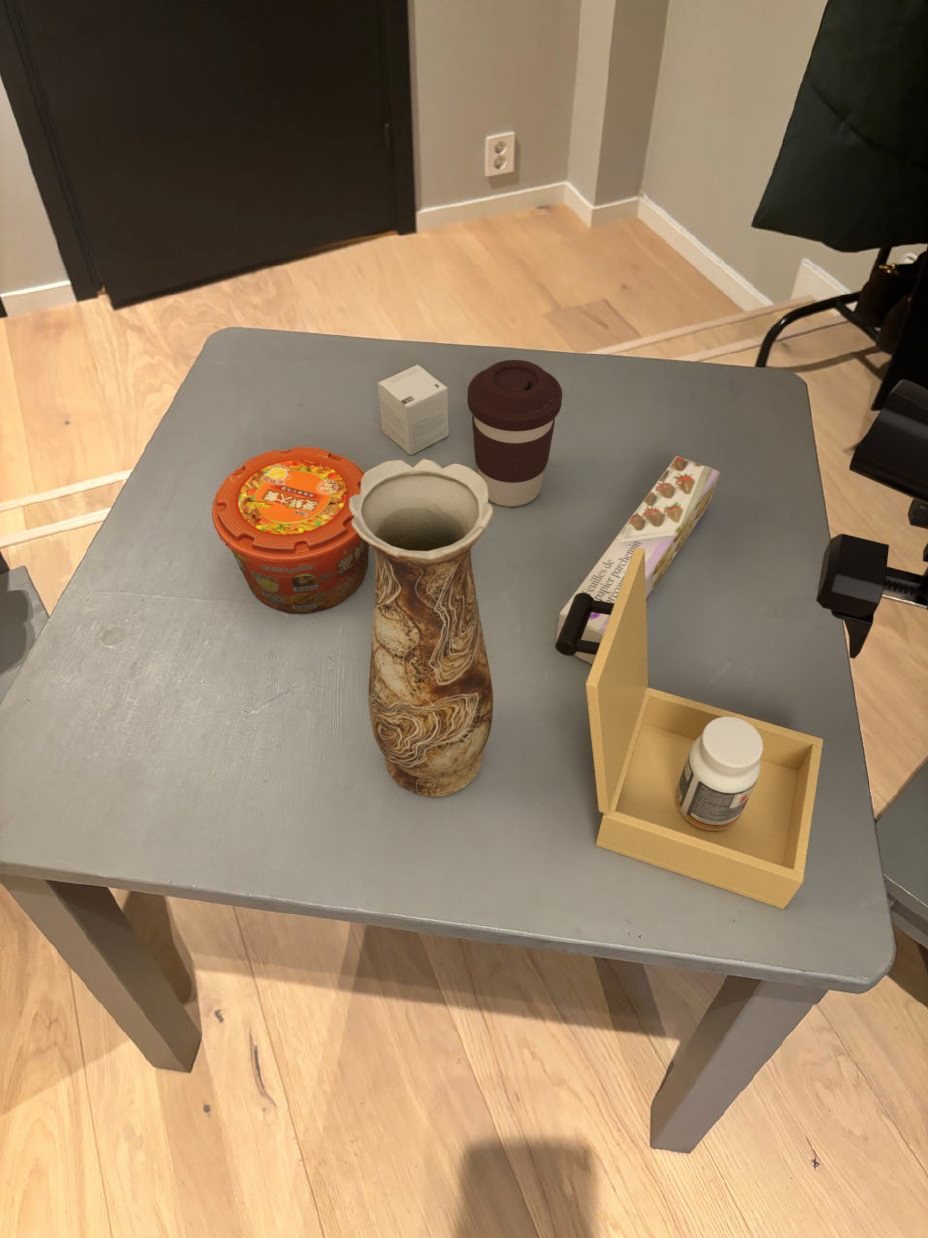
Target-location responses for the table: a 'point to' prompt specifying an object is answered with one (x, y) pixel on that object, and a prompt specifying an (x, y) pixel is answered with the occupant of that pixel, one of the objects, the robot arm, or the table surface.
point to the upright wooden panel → (612, 671)
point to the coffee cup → (513, 428)
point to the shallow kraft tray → (731, 858)
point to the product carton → (414, 409)
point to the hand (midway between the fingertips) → (912, 670)
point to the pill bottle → (719, 774)
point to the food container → (294, 528)
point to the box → (648, 539)
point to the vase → (426, 622)
